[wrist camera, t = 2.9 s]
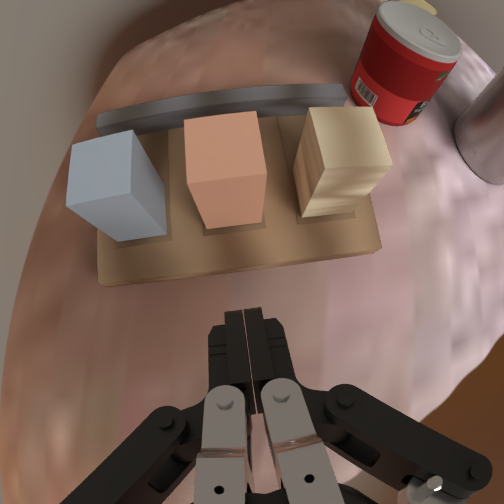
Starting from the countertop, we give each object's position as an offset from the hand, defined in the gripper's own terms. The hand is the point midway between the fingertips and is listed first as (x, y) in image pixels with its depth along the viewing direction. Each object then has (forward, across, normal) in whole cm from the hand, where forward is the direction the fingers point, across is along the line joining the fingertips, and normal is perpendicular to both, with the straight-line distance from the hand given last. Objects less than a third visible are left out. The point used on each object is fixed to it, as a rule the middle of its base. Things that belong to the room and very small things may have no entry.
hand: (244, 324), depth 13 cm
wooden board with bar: (+17, 0, 0) cm, 17 cm away
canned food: (+22, -17, -6) cm, 29 cm away
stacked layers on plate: (+32, -26, -16) cm, 44 cm away
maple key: (+13, -7, 0) cm, 15 cm away
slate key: (+13, +7, 0) cm, 15 cm away
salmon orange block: (+13, 0, 0) cm, 13 cm away
